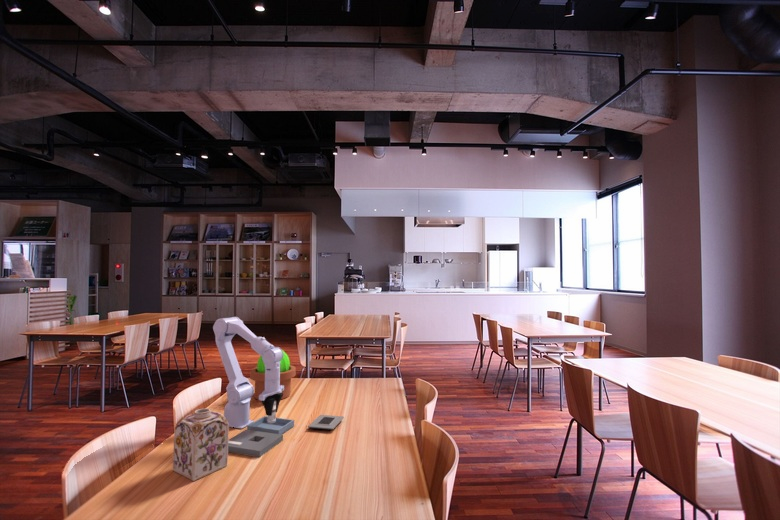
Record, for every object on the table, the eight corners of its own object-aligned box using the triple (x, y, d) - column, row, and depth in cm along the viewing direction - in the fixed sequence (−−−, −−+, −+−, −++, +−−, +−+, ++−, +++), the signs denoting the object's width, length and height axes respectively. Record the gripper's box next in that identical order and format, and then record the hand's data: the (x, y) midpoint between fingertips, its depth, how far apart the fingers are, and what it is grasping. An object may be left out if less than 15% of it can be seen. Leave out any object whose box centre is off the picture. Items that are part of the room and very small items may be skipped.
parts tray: (247, 432, 146) (247, 425, 146) (264, 422, 157) (264, 416, 157) (278, 437, 142) (278, 430, 143) (294, 426, 153) (294, 420, 153)
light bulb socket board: (219, 450, 131) (220, 444, 131) (246, 434, 144) (246, 428, 144) (259, 457, 126) (259, 450, 126) (282, 440, 140) (283, 434, 140)
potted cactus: (288, 403, 181) (289, 350, 182) (242, 402, 182) (244, 350, 183) (299, 389, 203) (300, 343, 204) (259, 389, 203) (260, 342, 205)
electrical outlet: (333, 434, 147) (333, 427, 147) (307, 431, 149) (307, 425, 149) (343, 421, 160) (343, 415, 160) (320, 419, 162) (320, 414, 162)
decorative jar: (192, 482, 110) (195, 419, 111) (171, 471, 116) (173, 412, 117) (229, 465, 120) (231, 408, 121) (207, 456, 127) (209, 401, 127)
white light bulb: (265, 422, 149) (266, 402, 149) (270, 420, 152) (270, 399, 152) (272, 423, 148) (273, 403, 148) (277, 420, 151) (277, 400, 151)
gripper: (270, 384, 143) (269, 421, 142) (290, 375, 157) (290, 408, 156) (254, 383, 145) (253, 419, 144) (276, 374, 158) (275, 406, 158)
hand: (271, 413), depth 150 cm, fingers closed on white light bulb, 3 cm apart
